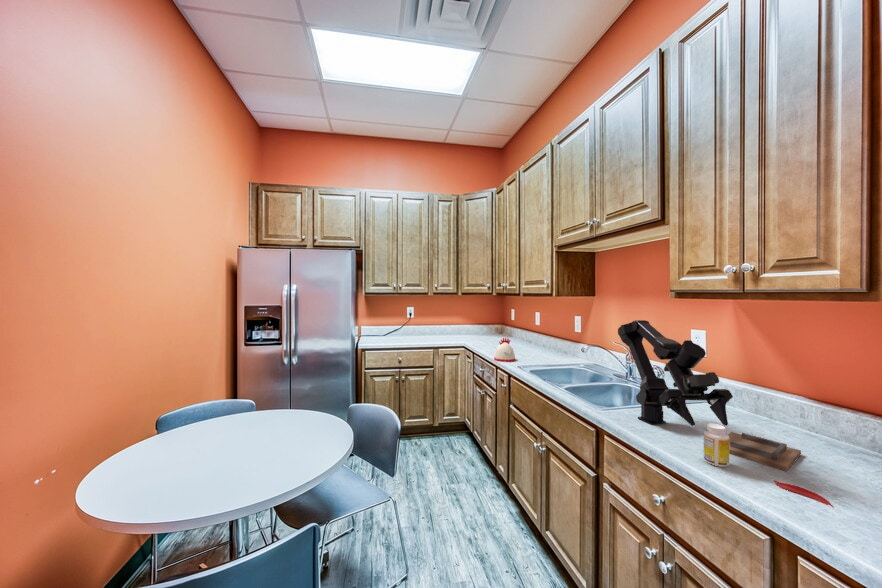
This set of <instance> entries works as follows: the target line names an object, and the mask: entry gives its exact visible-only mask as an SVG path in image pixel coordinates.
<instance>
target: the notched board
mask: <svg viewBox="0 0 882 588" xmlns="http://www.w3.org/2000/svg"><path fill="white" fill-rule="evenodd" d="M726 434H727V435H728V436H729V455H733V456H735V457H736V456H737V457H739V458H742V459H746V460H749V461H751V462H755V463H759V464H762V465H765V466H768V467H771V468H775V469H778V470H781V471H784V472H787V471H788V470H789V469H790V468H791V467H792V466H793V465H794V463H795V462H796V461H797V460H798V459H799V457H800V456H801V455H802V450H800V449H796V448H793V447H789V446H788V445H787V444H786V443H783V442H779V441H775V440H772V439H768V438H764V437H761V436H757V435H753V434H749V433H745V432H742V433H738V432H734V431H731V432H729V433H726ZM800 454H801V455H800ZM797 458H798V459H797ZM796 459H797V460H796ZM795 460H796V461H795ZM791 465H792V466H791Z"/></svg>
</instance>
